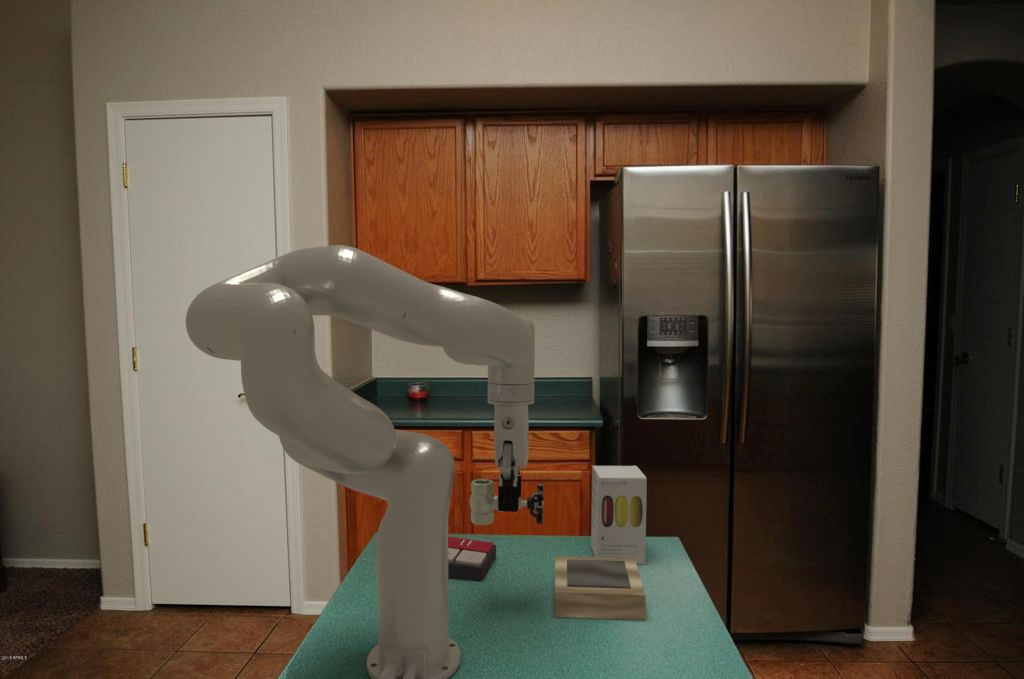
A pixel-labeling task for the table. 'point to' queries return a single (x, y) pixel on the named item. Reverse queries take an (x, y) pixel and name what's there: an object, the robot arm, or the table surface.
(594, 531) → the supplement box
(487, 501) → the valve
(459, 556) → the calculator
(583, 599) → the tapered tan tray
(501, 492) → the robot arm
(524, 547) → the table surface
